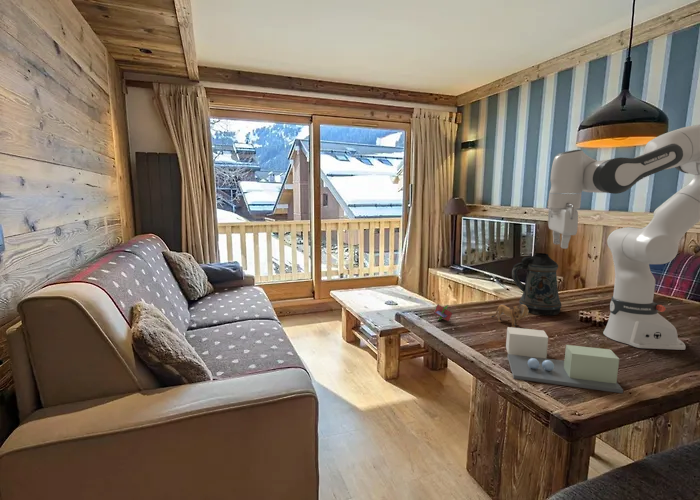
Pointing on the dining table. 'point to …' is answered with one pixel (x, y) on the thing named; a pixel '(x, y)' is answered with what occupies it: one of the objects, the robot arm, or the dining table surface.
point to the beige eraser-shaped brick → (526, 342)
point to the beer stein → (539, 284)
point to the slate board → (554, 374)
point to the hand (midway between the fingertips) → (560, 246)
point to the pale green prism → (591, 364)
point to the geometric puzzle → (442, 312)
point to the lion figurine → (512, 313)
